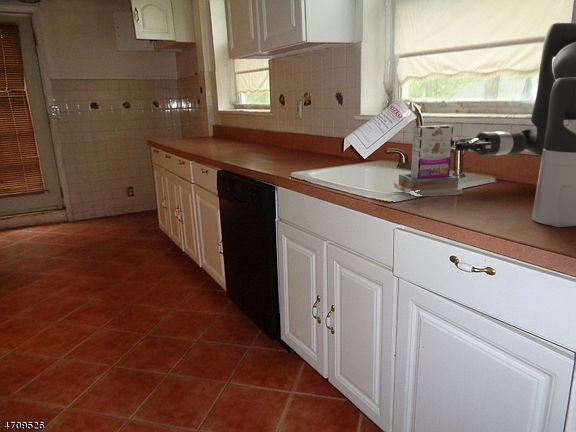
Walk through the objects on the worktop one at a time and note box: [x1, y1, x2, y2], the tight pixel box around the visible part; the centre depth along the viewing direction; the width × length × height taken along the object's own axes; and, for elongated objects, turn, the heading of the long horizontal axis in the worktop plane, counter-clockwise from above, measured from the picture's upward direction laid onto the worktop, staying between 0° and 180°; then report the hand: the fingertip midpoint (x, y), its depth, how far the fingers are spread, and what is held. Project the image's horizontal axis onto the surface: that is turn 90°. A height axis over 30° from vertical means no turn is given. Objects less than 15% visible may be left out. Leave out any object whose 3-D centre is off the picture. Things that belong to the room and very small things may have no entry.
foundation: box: [393, 173, 464, 197], centre depth 136 cm, size 14×16×5 cm
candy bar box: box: [410, 124, 454, 179], centre depth 133 cm, size 11×5×16 cm, turn 104°
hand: (448, 145), depth 134 cm, fingers open, 8 cm apart
